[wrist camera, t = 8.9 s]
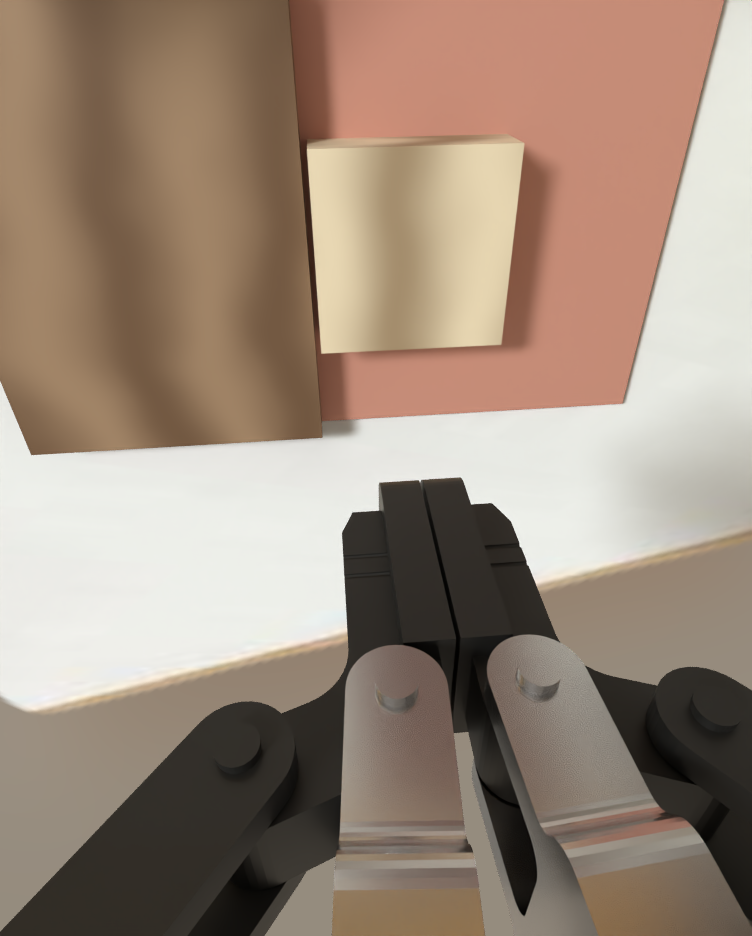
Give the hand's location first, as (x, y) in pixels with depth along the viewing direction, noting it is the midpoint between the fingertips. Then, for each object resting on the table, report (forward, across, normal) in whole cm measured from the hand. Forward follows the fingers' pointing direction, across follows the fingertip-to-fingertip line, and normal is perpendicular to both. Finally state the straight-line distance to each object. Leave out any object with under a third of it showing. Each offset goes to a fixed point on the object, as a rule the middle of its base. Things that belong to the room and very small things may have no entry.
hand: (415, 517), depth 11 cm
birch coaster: (+19, -2, 0) cm, 19 cm away
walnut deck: (+19, +9, 0) cm, 21 cm away
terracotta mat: (+19, -6, 0) cm, 20 cm away
